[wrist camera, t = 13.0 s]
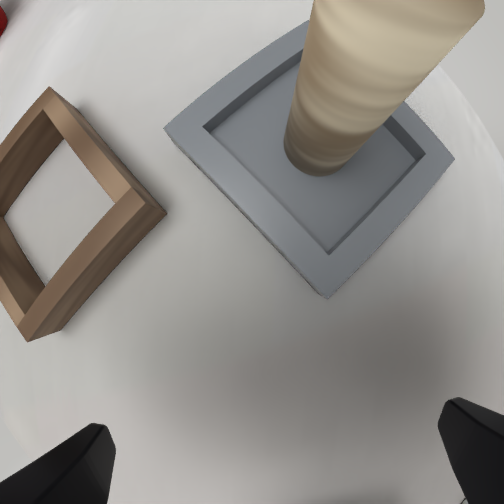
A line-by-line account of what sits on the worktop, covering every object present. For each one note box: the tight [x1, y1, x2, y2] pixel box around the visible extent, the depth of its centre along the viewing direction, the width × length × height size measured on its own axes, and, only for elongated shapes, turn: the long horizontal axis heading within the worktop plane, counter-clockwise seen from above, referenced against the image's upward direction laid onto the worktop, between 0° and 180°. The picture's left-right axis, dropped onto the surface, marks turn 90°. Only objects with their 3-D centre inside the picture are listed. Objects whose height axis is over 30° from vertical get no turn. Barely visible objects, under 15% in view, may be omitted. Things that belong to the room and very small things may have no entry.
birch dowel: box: [283, 0, 485, 176], centre depth 11 cm, size 4×4×14 cm
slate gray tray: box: [163, 20, 455, 299], centre depth 18 cm, size 13×12×2 cm
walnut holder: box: [0, 87, 167, 342], centre depth 17 cm, size 11×11×4 cm
